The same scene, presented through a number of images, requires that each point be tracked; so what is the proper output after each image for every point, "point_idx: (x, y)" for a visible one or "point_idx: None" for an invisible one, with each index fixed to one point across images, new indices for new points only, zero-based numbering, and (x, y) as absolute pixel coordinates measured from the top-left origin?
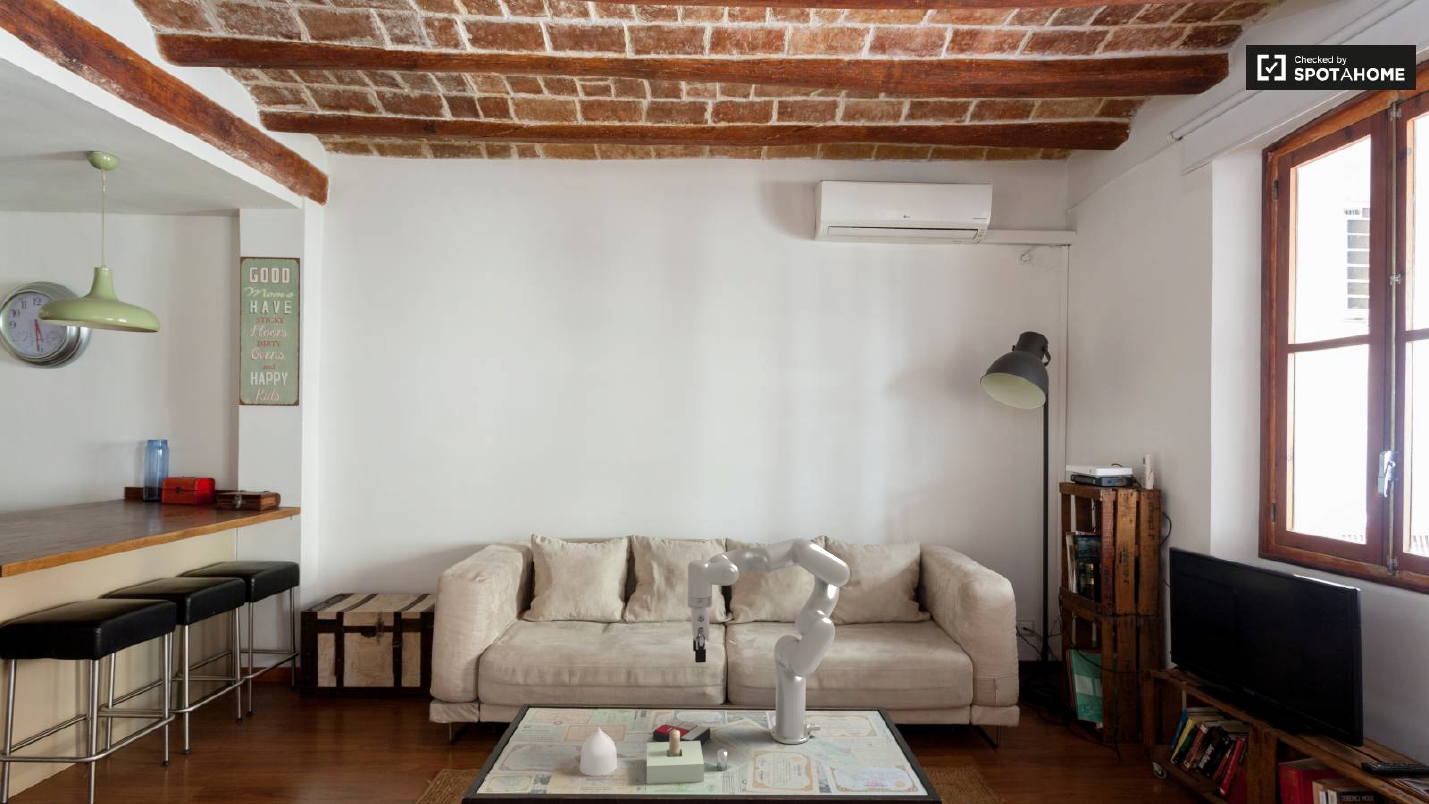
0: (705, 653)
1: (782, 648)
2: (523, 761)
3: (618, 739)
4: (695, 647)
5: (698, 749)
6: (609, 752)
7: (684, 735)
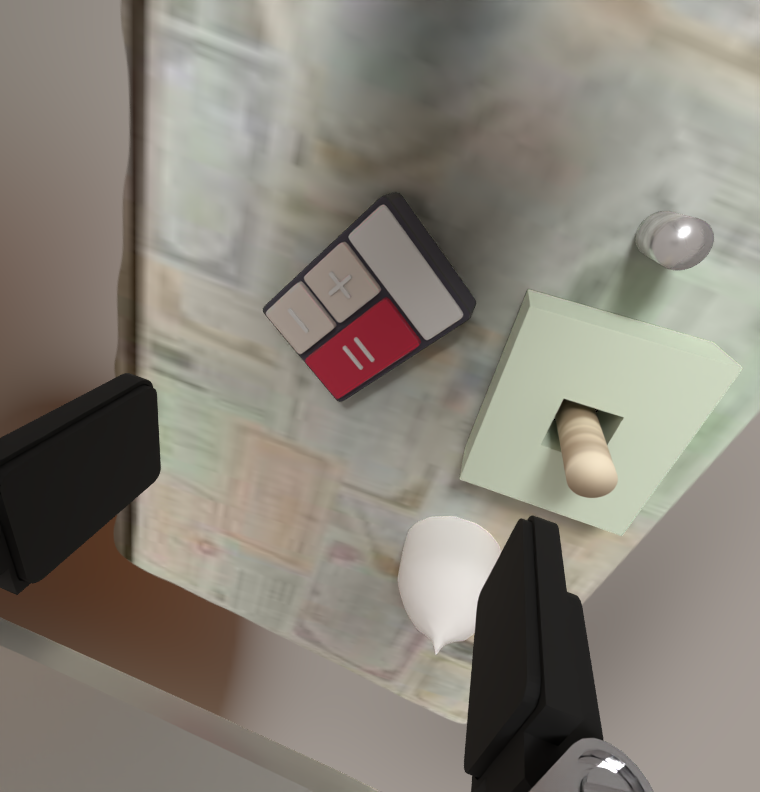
0: (566, 634)
1: None
2: (371, 647)
3: (320, 469)
4: (125, 487)
5: (604, 341)
6: None
7: (416, 325)
